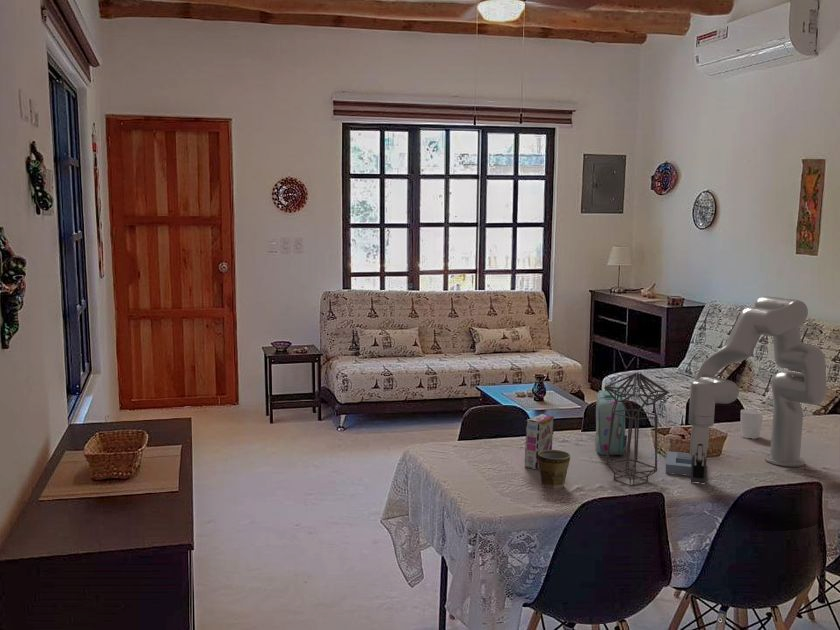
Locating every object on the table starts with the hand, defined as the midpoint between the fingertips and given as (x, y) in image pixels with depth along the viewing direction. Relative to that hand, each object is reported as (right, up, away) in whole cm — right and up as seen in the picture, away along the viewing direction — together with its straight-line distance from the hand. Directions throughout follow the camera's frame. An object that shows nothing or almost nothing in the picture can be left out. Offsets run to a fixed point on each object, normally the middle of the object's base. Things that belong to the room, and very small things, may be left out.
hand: (698, 474), depth 260 cm
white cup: (+39, +4, +55) cm, 67 cm away
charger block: (0, -2, 0) cm, 2 cm away
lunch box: (-20, +2, +35) cm, 40 cm away
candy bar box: (-49, 0, +15) cm, 51 cm away
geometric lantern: (-21, -2, +1) cm, 21 cm away
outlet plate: (0, -1, +14) cm, 14 cm away
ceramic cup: (-48, -2, -4) cm, 48 cm away
